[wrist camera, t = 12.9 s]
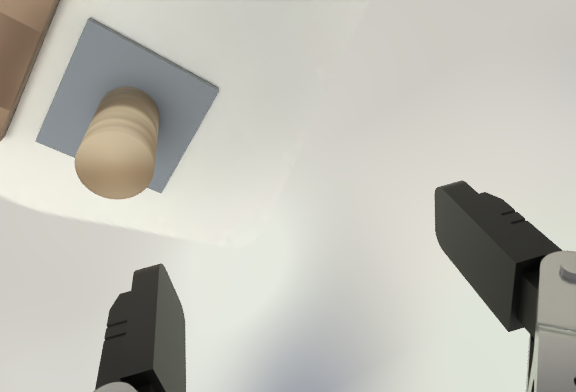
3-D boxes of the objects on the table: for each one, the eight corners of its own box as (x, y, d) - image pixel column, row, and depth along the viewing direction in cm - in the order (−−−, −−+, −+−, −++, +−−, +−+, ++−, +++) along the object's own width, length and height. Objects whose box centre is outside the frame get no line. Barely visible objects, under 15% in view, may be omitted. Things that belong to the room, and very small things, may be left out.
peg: (91, 89, 33) (65, 136, 26) (154, 84, 34) (147, 127, 26) (105, 145, 35) (85, 203, 28) (163, 139, 36) (160, 194, 28)
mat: (38, 137, 35) (35, 141, 34) (89, 17, 32) (87, 19, 31) (161, 188, 39) (161, 193, 38) (218, 87, 36) (218, 90, 35)
